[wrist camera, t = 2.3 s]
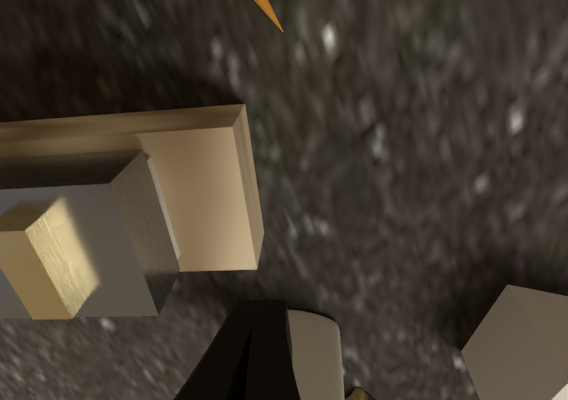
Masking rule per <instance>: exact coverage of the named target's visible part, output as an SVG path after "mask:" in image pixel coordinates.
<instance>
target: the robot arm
mask: <svg viewBox="0 0 568 400" xmlns="http://www.w3.org/2000/svg"><path fill="white" fill-rule="evenodd" d="M174 400H301V399H300V395H299V391H298V387H297V384H296V380H295V375H294V371H293V363H292V342H291V334H290V326H289V318H288V310H287V303H286V302H284V301H283V300H250V301H236V302H235V303H234V304H233V306H232V308H231V310H230V312H229V313H228V315H227V317H226V319H225V321H224V322H223V324H222V326H221V328H220V329H219V331H218V333H217V334H216V336H215V338H214V339H213V341H212V343H211V344H210V346H209V348H208V349H207V351H206V352H205V354H204V356H203V357H202V359H201V360H200V362H199V363H198V365H197V366H196V368H195V370H194V371H193V373H192V374H191V376H190V377H189V379H188V380H187V381H186V383H185V384H184V386H183V387H182V388H181V390H180V391H179V393H178V394H177V395H176V397H175V398H174Z"/></svg>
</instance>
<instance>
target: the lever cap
mask: <svg viewBox="0 0 568 400" xmlns="http://www.w3.org/2000/svg"><path fill="white" fill-rule="evenodd" d="M179 270H180V267H179V264H178V260H177V257H176V254H175V251H174V247H173V244H172V241H171V237H170V234H169V231H168V228H167V224H166V221H165V218H164V215H163V211H162V208H161V205H160V202H159V198H158V195H157V192H156V189H155V185H154V182H153V179H152V176H151V172H150V169H149V166H148V162H147V159H146V156H145V153H144V149H138V150H123V151H108V152H92V153H77V154H62V155H46V156H31V157H16V158H0V318H32V319H73V317H111V316H159V314H160V312H161V310H162V308H163V305H164V303H165V301H166V299H167V297H168V294H169V292H170V290H171V288H172V286H173V284H174V281H175V279H176V277H177V275H178V273H179Z"/></svg>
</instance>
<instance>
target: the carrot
mask: <svg viewBox="0 0 568 400" xmlns="http://www.w3.org/2000/svg"><path fill="white" fill-rule="evenodd" d="M254 1H255V2H256V3H257V4H258V5H259V6H260V8H261V9H262V10H263V11H264V12H265V13H266V14H267V15H268V16H269V17H270V18H271V20H272V21H273V22H274V23H275V24H276V25H277V26H278V27H279V28H280V29H281V30H282V28H281V26H280V24H279V22H278V20H277V18H276V15H275V13H274V11H273V9H272V7H271V5H270V3H269V1H268V0H254ZM282 32H283V30H282ZM283 33H284V32H283Z"/></svg>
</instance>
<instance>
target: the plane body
mask: <svg viewBox="0 0 568 400" xmlns="http://www.w3.org/2000/svg"><path fill="white" fill-rule="evenodd" d="M138 149H144V153H145V156H146V159H147V162H148V166H149V169H150V172H151V176H152V179H153V182H154V185H155V189H156V192H157V195H158V198H159V202H160V205H161V208H162V211H163V215H164V218H165V221H166V224H167V228H168V231H169V234H170V237H171V241H172V244H173V247H174V251H175V254H176V257H177V260H178V264H179V267H180V270H179V272H182V271H217V270H252V269H257V267H258V261H259V256H260V251H261V246H262V241H263V235H264V228H263V221H262V214H261V208H260V201H259V194H258V188H257V181H256V174H255V168H254V161H253V154H252V147H251V141H250V134H249V127H248V121H247V114H246V107H245V104H237V105H224V106H210V107H197V108H184V109H171V110H158V111H145V112H132V113H119V114H106V115H93V116H80V117H67V118H53V119H40V120H27V121H14V122H1V123H0V158H16V157H31V156H46V155H62V154H77V153H92V152H108V151H123V150H138Z"/></svg>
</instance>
